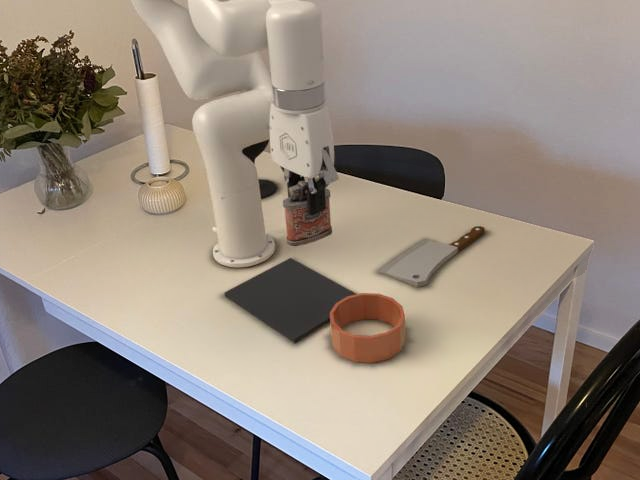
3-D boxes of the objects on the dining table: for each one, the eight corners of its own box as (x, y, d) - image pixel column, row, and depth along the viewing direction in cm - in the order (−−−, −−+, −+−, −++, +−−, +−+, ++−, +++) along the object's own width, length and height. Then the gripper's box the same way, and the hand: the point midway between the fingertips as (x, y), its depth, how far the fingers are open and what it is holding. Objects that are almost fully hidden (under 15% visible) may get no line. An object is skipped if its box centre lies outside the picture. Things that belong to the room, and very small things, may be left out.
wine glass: (276, 198, 155) (266, 115, 144) (232, 201, 155) (218, 119, 145) (278, 179, 164) (269, 99, 153) (236, 182, 164) (224, 103, 153)
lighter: (292, 249, 106) (287, 193, 100) (283, 240, 108) (277, 184, 103) (336, 234, 109) (333, 179, 103) (326, 225, 111) (322, 171, 106)
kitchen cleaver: (453, 217, 138) (495, 230, 132) (453, 222, 139) (495, 234, 132) (376, 268, 125) (418, 285, 119) (376, 273, 126) (419, 290, 119)
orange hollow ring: (316, 340, 110) (314, 316, 107) (368, 308, 116) (367, 284, 113) (367, 373, 102) (366, 348, 99) (420, 337, 108) (420, 312, 105)
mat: (224, 296, 123) (224, 292, 122) (290, 261, 131) (290, 257, 131) (294, 343, 110) (294, 339, 109) (363, 301, 118) (363, 297, 117)
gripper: (243, 89, 99) (256, 199, 109) (319, 116, 88) (326, 235, 98) (281, 76, 103) (291, 183, 113) (359, 100, 92) (361, 216, 102)
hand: (307, 206), depth 105 cm, fingers closed on lighter, 3 cm apart
